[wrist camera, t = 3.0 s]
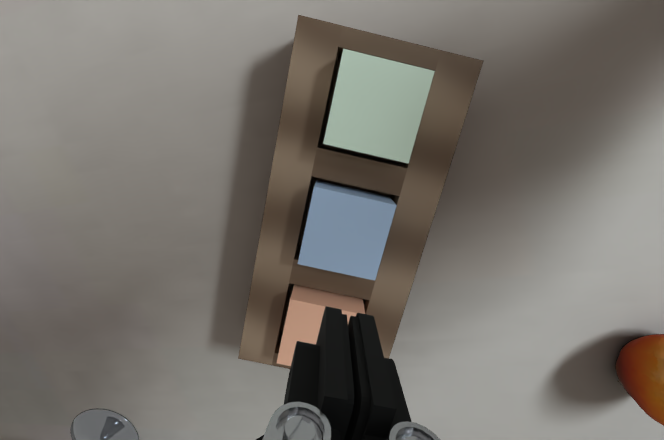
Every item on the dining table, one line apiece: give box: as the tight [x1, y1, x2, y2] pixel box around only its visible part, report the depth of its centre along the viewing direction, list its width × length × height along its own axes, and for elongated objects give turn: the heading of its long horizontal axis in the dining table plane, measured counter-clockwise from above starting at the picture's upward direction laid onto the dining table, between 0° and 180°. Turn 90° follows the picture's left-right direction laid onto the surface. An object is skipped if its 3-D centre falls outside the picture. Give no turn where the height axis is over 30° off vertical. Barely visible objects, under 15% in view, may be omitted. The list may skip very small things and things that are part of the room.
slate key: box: [298, 180, 397, 281], centre depth 24 cm, size 6×6×3 cm
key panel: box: [238, 15, 483, 369], centre depth 26 cm, size 26×12×4 cm, turn 167°
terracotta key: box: [277, 284, 365, 366], centre depth 26 cm, size 6×6×3 cm
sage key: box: [323, 49, 435, 163], centre depth 21 cm, size 6×6×3 cm
